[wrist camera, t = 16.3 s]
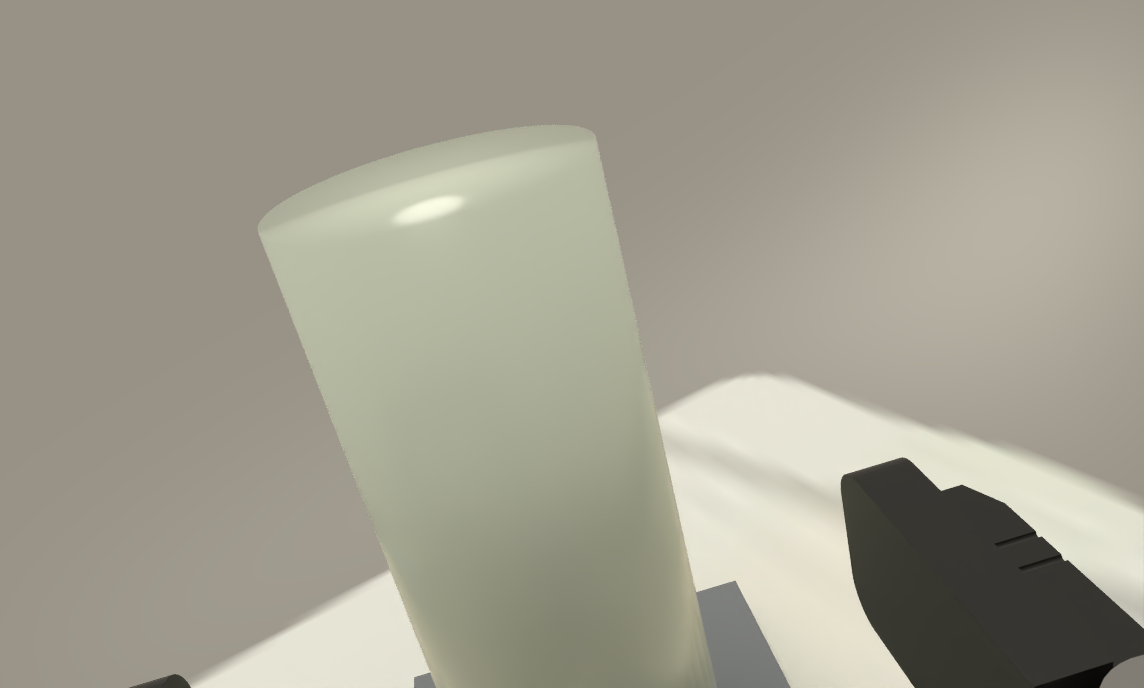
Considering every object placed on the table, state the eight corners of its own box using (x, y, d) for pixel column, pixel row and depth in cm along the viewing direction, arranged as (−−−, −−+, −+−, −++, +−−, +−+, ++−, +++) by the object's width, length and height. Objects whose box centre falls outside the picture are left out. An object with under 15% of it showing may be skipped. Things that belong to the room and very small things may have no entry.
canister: (517, 981, 17) (223, 276, 11) (499, 760, 21) (285, 182, 15) (779, 902, 17) (627, 169, 11) (705, 700, 21) (570, 107, 16)
